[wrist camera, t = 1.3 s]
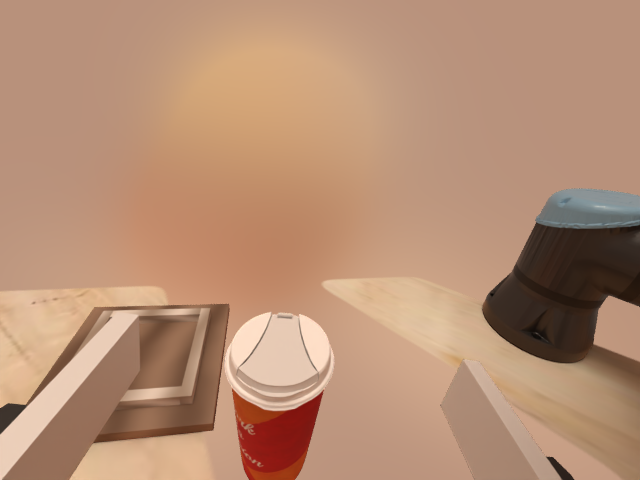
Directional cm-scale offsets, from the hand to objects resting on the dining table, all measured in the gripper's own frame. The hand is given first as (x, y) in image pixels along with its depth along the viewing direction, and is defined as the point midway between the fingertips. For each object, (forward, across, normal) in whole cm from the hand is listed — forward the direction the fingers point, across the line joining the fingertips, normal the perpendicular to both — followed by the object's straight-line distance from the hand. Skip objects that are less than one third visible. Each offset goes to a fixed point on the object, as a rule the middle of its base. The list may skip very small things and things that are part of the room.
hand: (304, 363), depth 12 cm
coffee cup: (+10, +1, -22) cm, 24 cm away
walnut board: (+20, -16, -22) cm, 33 cm away
